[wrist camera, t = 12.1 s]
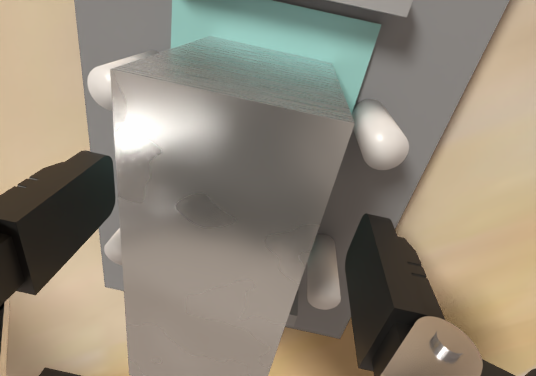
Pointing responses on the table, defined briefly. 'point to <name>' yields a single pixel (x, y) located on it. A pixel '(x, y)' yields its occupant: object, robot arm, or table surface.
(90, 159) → the robot arm
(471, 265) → the table surface
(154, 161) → the block
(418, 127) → the docking tray
